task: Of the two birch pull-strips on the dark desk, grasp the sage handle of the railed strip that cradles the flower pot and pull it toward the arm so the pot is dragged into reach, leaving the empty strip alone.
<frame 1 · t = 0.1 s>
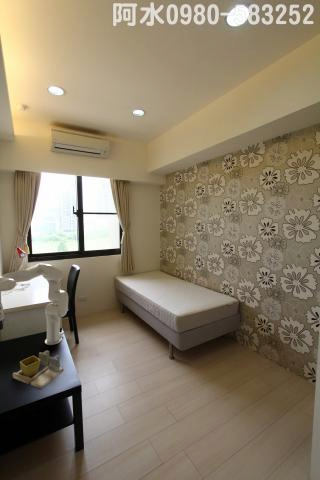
pot strip: (35, 364, 143), point 4 cm above the table, slide at 0.0 cm
empty strip: (47, 370, 137), point 5 cm above the table, slide at 0.0 cm
flower pot: (30, 374, 140), resting in pot strip
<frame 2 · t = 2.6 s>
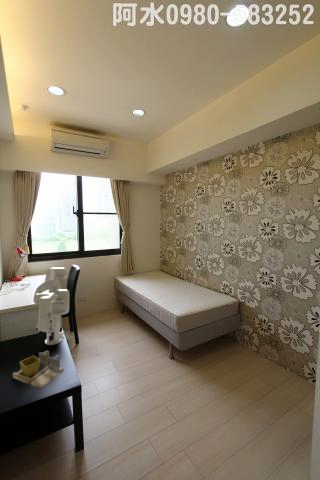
hand: (45, 339, 149), 18 cm above the table, fingers open, 9 cm apart
nothing on the table moved.
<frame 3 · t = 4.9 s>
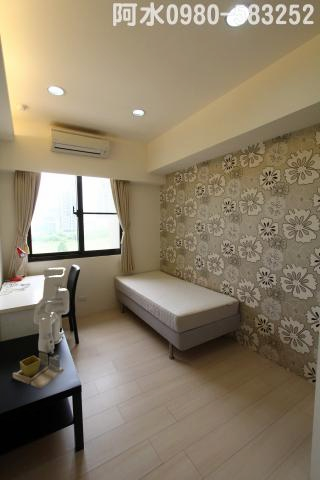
hand: (46, 360, 151), 2 cm above the table, fingers closed on pot strip, 2 cm apart
pot strip: (35, 364, 143), point 4 cm above the table, slide at 0.0 cm, touching gripper
everything else where it was.
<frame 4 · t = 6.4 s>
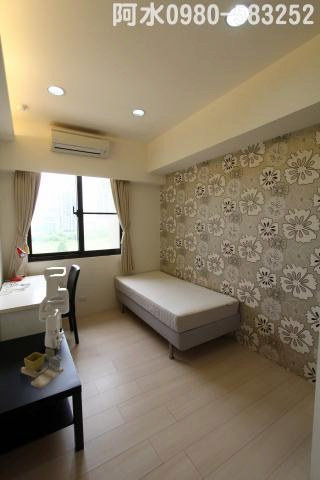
hand: (52, 355, 156), 2 cm above the table, fingers closed on pot strip, 2 cm apart
pot strip: (42, 360, 148), point 4 cm above the table, slide at 5.4 cm, touching flower pot, gripper
flower pot: (34, 370, 144), resting in pot strip
everything else where it was.
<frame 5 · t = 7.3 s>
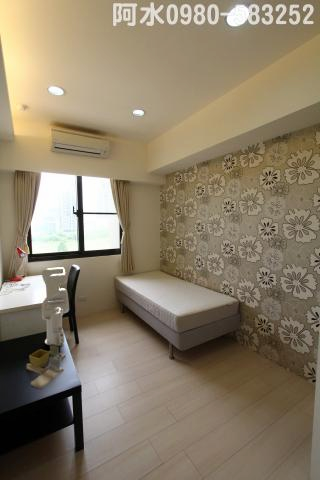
hand: (56, 352, 160), 2 cm above the table, fingers closed on pot strip, 2 cm apart
pot strip: (46, 356, 151), point 4 cm above the table, slide at 9.3 cm, touching flower pot, gripper
flower pot: (39, 366, 147), resting in pot strip
everything else where it was.
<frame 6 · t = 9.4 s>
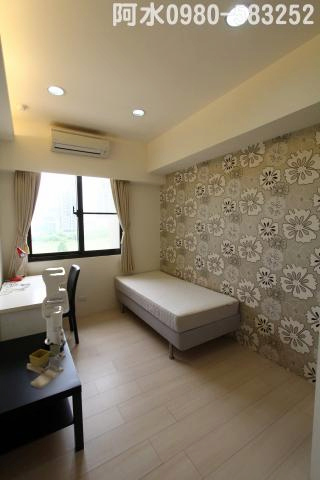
hand: (56, 349, 160), 4 cm above the table, fingers open, 9 cm apart
pot strip: (47, 356, 152), point 4 cm above the table, slide at 9.5 cm
flower pot: (39, 366, 147), resting in pot strip
everything else where it was.
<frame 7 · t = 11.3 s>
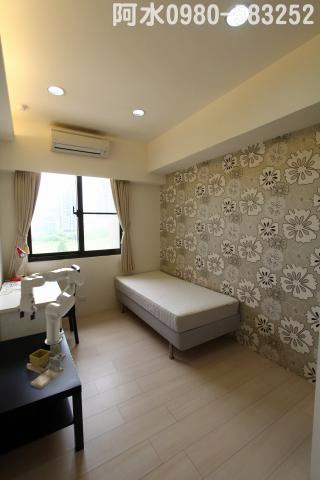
hand: (27, 318, 158), 27 cm above the table, fingers open, 9 cm apart
nothing on the table moved.
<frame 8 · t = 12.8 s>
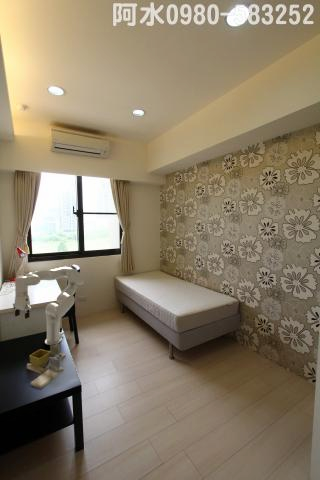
hand: (22, 316, 158), 28 cm above the table, fingers open, 9 cm apart
nothing on the table moved.
at the end: pot strip slide at 9.5 cm; flower pot inside the target area (1.7 cm from its centre), resting in pot strip; empty strip slide at 0.0 cm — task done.
